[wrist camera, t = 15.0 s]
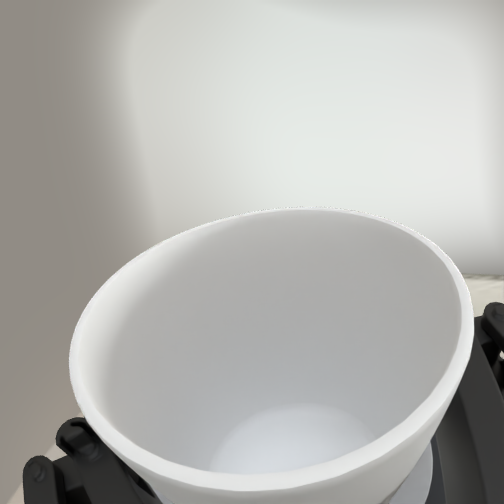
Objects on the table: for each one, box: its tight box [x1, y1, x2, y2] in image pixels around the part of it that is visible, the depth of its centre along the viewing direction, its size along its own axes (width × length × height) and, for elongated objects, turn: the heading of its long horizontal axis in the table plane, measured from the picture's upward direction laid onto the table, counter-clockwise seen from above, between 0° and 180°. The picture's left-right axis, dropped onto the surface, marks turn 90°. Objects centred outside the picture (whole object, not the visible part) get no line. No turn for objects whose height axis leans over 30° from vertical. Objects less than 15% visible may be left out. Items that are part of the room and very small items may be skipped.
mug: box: [69, 207, 474, 504], centre depth 10 cm, size 12×8×10 cm
